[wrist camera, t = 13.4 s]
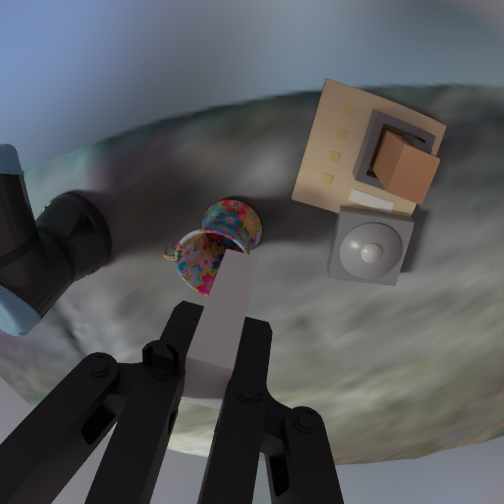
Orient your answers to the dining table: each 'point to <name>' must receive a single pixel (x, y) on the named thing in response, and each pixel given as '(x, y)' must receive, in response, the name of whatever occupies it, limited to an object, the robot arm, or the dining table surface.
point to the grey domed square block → (369, 246)
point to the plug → (404, 165)
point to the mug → (215, 242)
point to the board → (356, 150)
